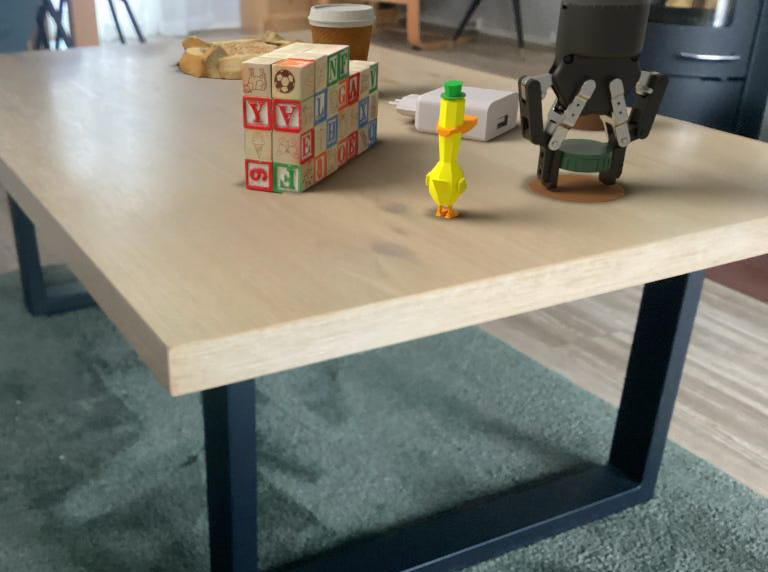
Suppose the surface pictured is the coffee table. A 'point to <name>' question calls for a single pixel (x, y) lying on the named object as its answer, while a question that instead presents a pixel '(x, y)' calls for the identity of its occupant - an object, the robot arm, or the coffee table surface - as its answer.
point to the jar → (589, 123)
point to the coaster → (578, 189)
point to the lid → (585, 155)
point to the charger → (485, 104)
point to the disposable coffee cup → (343, 27)
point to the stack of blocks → (305, 114)
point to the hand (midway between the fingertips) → (577, 183)
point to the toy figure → (450, 149)
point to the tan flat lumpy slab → (226, 54)
